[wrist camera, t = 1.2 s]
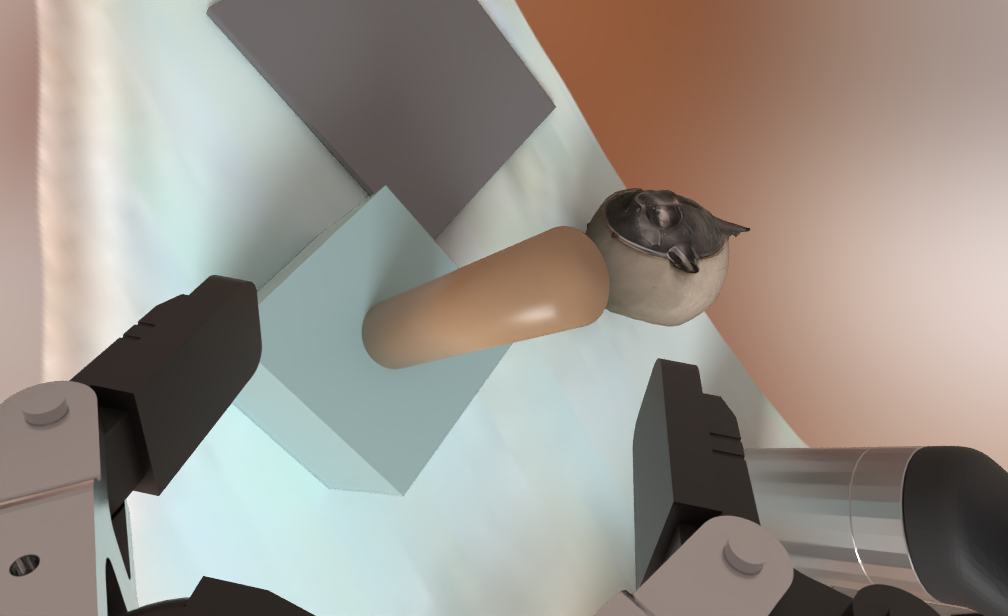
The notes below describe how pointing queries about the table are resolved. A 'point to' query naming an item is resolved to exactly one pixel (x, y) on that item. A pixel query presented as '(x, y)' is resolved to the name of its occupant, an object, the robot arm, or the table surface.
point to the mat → (396, 90)
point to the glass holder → (946, 613)
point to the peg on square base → (400, 338)
